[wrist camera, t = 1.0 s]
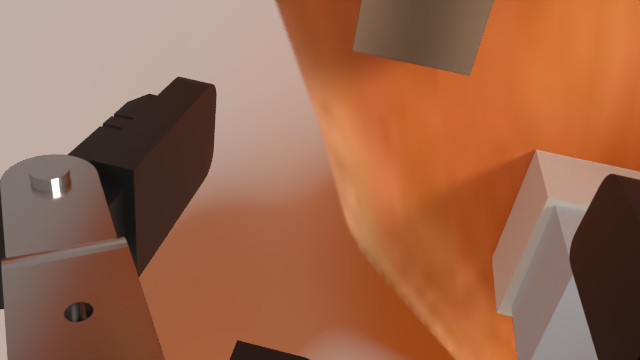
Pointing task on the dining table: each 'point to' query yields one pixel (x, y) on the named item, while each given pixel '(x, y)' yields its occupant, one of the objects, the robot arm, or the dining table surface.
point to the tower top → (552, 298)
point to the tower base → (542, 214)
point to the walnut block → (423, 31)
